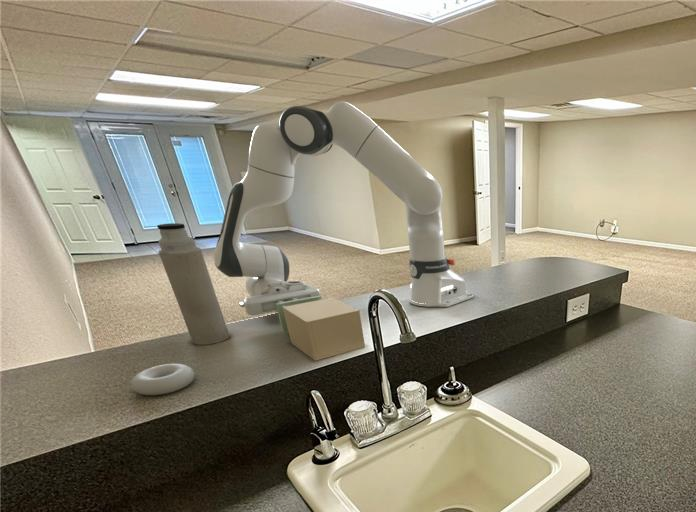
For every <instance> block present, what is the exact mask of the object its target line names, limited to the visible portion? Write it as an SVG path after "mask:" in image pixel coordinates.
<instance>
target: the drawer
mask: <svg viewBox="0 0 696 512" xmlns="http://www.w3.org/2000/svg"><path fill="white" fill-rule="evenodd" d="M321 296H322V295H321ZM321 296H314V297H308V298H303V299H298V300H292V301H287V302H281V303H276V308H277V312H276V313H277V315H278V319H279V324H280V327H281V331H282V333H284V334H287V333H289V331H288V328H287V324H286V320H285V316H284V312H283V308H282V307H286V306H291V305H296V304H301V303H306V302H312V301H317V300H322V299H323V297H322V298H321Z"/></svg>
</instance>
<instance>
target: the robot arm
mask: <svg viewBox="0 0 696 512" xmlns="http://www.w3.org/2000/svg"><path fill="white" fill-rule="evenodd" d="M278 123H279V126H278V125H275V124H271V123H261V124H259V125H257V126H255V128H254V129H253V132H252V135H251V139H250V140H251V141H250V143H249V150H248V163H247V170H246V173H245V175H244V177H242V179H241V180H240V181H238V182H235V183H234V184H233V185H232V188H231V190H230V192H229V196H228V199H227V203H226V207H225V211H224V216H223V220H222V223H221V228H220V233H219V236H218V239H217V242H216V245H215V249H214V251H213V261H214V265H215V268H216V269H217V270H218V271H220V272H221V273H222V274H224V275H225V276H227V277H229V278H244V277H246V278H247V279H246V281H245V288H246V290H247V293H248V294H249V296H247V297H246V296H245V297H243V298H242V301H240V302H238V306H239V307H240V308H244V309H245V310H244V311H245V312H246V313H247V315H249V316H258V315H264V314H269V313H274V312H276V313H278V312H277V308H276V303H281V302H287V301H292V300H298V299H303V298H308V297H314V296H321V298H322V299H323V296H322V292H321V291H320V289H319V288H317V287H316V286H313V285H310V284H306V283H305V281H302V280H298V281H297V280H296V281H295V280H294V281H288V280H289V277H290V261H289V259H288V257H287V255H286V253H284V252H283V250H282V249H281V248H280V247H279V246H273V245H266V244H255V243H247V242H241V241H240V240H241V236H242V232H243V228H244V224H245V220H246V218H247V215H249V213H251V212H252V211H255V210H257V209H262V208H266V207H267V208H268V207H274V206H277V205H280V204H283V203H285V202H286V201H287V200H289V199H290V197H291V196H292V194H293V191H294V185H295V174H296V172H295V171H296V164H297V159H298V158H299V157H300V156H301V155H308V156H314V157H315V156H320V155H324V154H327V153H328V152H329V151H330V150H331V149H332V148H333V145H335V146H337V147H340V148H342V149H343V150H344V151H346V152H347V153H348V154H349V155H351V157H352V158H354V159H355V160H356V161H357V163H359V164H360V165H362V166H363V167H364V168H365V169H366V170H367V171H369V173H370V174H372V175H373V176H374V177H376V178H377V180H379V181H380V182H381V183H382V184H383V185H384V186H385V187H387V189H388V190H390V192H392V193H393V194H394V196H396V197H397V198H398V199H400V200H401V201H402V203H404V205H405V206H404V207H405V217H406V225H407V237H408V247H409V248H408V249H409V257H410V258H409V259H408V260H409V261H408V262H409V263H408V264H409V272H410V277H411V283H410V297H409V301H408V302H409V303H410V304H412V305H414V306H418V307H426V308H427V307H439V308H448V307H451V306H454V305H457V304H459V303H462V302H465V301H467V300H470V299H473V298H474V294H473V295H472V296H469V297H466V298H464V299H461V300H460V298H458V297H460V296H462V295H465V294H467V291H468V290H467V289H468V288H467V284H466V280H465V279H464V278H463V277H462V276H460V275H459V274H458V273H456V272H455V271H454V270H452V269H451V267H450V266H455V264H456V260H455V259H454V258H446V257H445V255H446V254H445V240H444V239H445V238H444V237H445V236H444V227H443V219H442V218H443V215H442V207H441V206H442V203H443V199H444V194H443V189H442V186H441V184H440V183H439V181H438V180H437V179H436V178H435V177H434V176H433V175H432V174H431V173H430V172H428V170H426V169H425V167H423V166H422V165H421V164H420V163H419V162H418V161H417V160H416V159H414V157H413V156H411V155H410V154H409V153H408V152H407V151H406V150H405V149H403V148H402V146H400V145H399V144H398V142H396V141H395V140H394V139H393V138H392V137H391V136H390V135H389V134H388V133H386V131H384V130H383V128H381V127H380V126H379V125H378V124H377V123H376V122H375V121H373V120H372V119H371V118H370V117H369V116H368V115H366V114H365V113H364V112H362V111H361V110H360V109H358V108H357V107H355V106H354V105H352V104H351V103H349V102H347V101H345V100H340V101H337V102H335V103H333V104H332V105H331V106H330V108H329V109H328V110H327V111H326V112H325V113H324V112H323V111H320V110H318V109H313V108H310V107H306V106H302V105H293V106H289V107H288V108H286V109H285V110H284V111H283V112H282V114H281V115H280V117H279V122H278ZM468 294H470V293H468ZM410 298H411V300H413V301H415V302H418V303H415V302H412V301H411V300H410ZM419 303H424V304H419ZM425 303H426V304H425Z"/></svg>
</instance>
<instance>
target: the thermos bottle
mask: <svg viewBox="0 0 696 512" xmlns="http://www.w3.org/2000/svg"><path fill="white" fill-rule="evenodd" d="M156 226H157V229H158V230H159V234H160V237H161V238H159V239H158V244H159V245H158V246H159V247H160V249H159V250H158V255H159V258H160V260H161V263H162V266H163V268H164V271H165V273H166V276H167V278H168V282H169V284H170V286H171V289H172V292H173V294H174V297H175V299H176V302H177V305H178V307H179V310H180V312H181V315H182V317H183V320H184V323H185V326H186V328H187V331H188V333H189V336H190V339H191V341H192V343H193V344H195V345H201V346H202V345H203V346H204V345H213V344H217V343H221V342H223V341H226V340H227V339H229V338H230V333H229V330H228V326H227V324H226V320H225V318H224V314H223V312H222V308H221V306H220V303H219V301H218V297H217V293H216V290H215V288H214V285H213V284H214V283H213V281H212V278H211V275H210V272H209V269H208V267H207V263H206V261H205V258H204V254H203V252H202V248H201V247H198V246H197V244H196V241H195V238H193V237H191V236H189V234H188V231H187V229H185V228H186V226H185V224H184V223H177V222H176V223H172V222H171V223H170V222H169V223H162V224H161V223H160V224H157V225H156Z"/></svg>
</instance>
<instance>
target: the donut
mask: <svg viewBox="0 0 696 512" xmlns="http://www.w3.org/2000/svg"><path fill="white" fill-rule="evenodd" d="M194 379H195V372H194V369H192V368H191V367H190V366H188V365H186V364H183V363H166V364H165V363H164V364H160V365H155V366H152V367H149V368H146V369H144V370H142V371H140V372H138V373H137V374H135V375H134V376H133V378H132V379H131V382H130V383H131V388H132V390H133V391H135V392H136V393H138V394H140V395H144V396H159V395H161V396H162V395H166V394H171V393H175V392H177V391H180V390H182V389H184V388H186V387H187V386H189V385H190V384H191V383H192V382H193V381H194Z"/></svg>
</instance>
